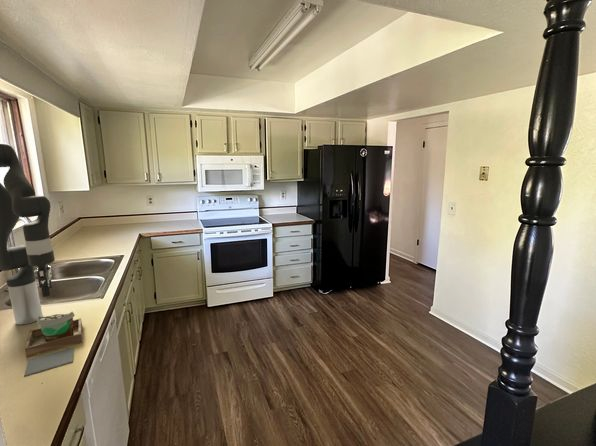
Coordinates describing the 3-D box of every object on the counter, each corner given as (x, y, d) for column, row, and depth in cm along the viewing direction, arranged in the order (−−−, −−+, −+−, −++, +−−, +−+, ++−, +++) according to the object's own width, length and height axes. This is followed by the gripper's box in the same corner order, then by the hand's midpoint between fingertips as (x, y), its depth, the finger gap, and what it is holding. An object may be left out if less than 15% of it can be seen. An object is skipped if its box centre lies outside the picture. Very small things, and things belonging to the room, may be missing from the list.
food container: (34, 347, 120) (29, 323, 118) (42, 338, 125) (37, 315, 123) (71, 342, 123) (67, 318, 121) (77, 333, 129) (73, 310, 127)
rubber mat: (28, 360, 112) (28, 359, 112) (73, 348, 119) (73, 347, 119) (24, 376, 104) (24, 375, 104) (72, 362, 111) (72, 361, 111)
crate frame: (31, 338, 126) (30, 330, 125) (82, 325, 135) (80, 318, 134) (26, 357, 114) (24, 348, 113) (82, 342, 123) (80, 333, 122)
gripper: (29, 248, 120) (37, 288, 124) (23, 257, 109) (32, 301, 112) (54, 244, 124) (61, 283, 128) (51, 253, 113) (59, 296, 116)
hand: (47, 292), depth 120 cm, fingers open, 8 cm apart
